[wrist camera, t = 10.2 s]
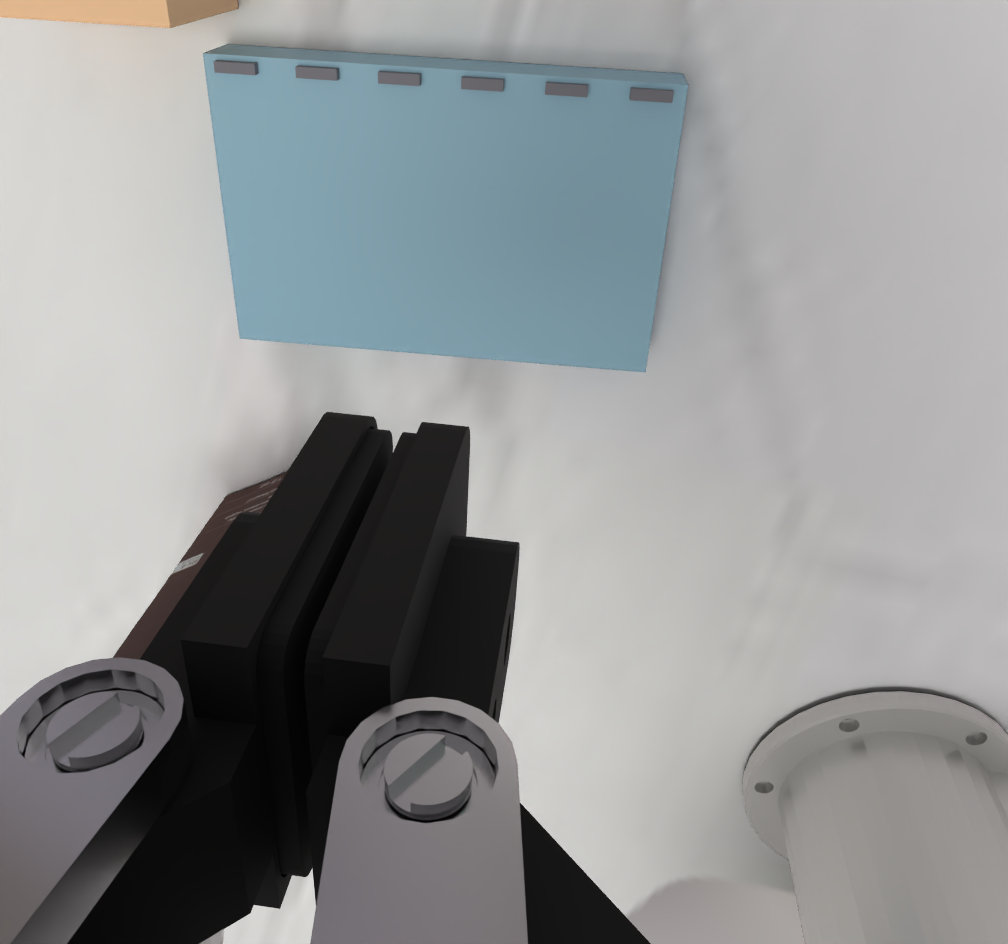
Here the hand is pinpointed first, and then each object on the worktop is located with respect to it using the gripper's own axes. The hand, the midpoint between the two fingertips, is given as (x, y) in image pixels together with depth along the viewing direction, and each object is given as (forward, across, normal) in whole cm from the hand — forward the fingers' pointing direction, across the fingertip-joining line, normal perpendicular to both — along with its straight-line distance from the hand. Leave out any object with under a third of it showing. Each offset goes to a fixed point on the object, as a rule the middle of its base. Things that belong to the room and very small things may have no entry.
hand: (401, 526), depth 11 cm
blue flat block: (+21, +3, +2) cm, 21 cm away
